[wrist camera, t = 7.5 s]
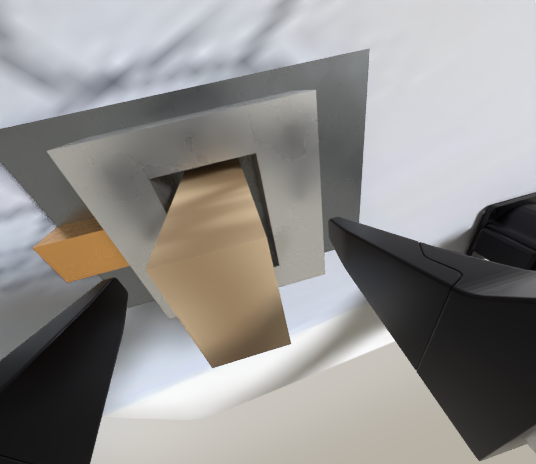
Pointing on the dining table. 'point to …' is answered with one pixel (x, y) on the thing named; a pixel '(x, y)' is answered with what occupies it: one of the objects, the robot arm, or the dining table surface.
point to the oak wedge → (219, 266)
